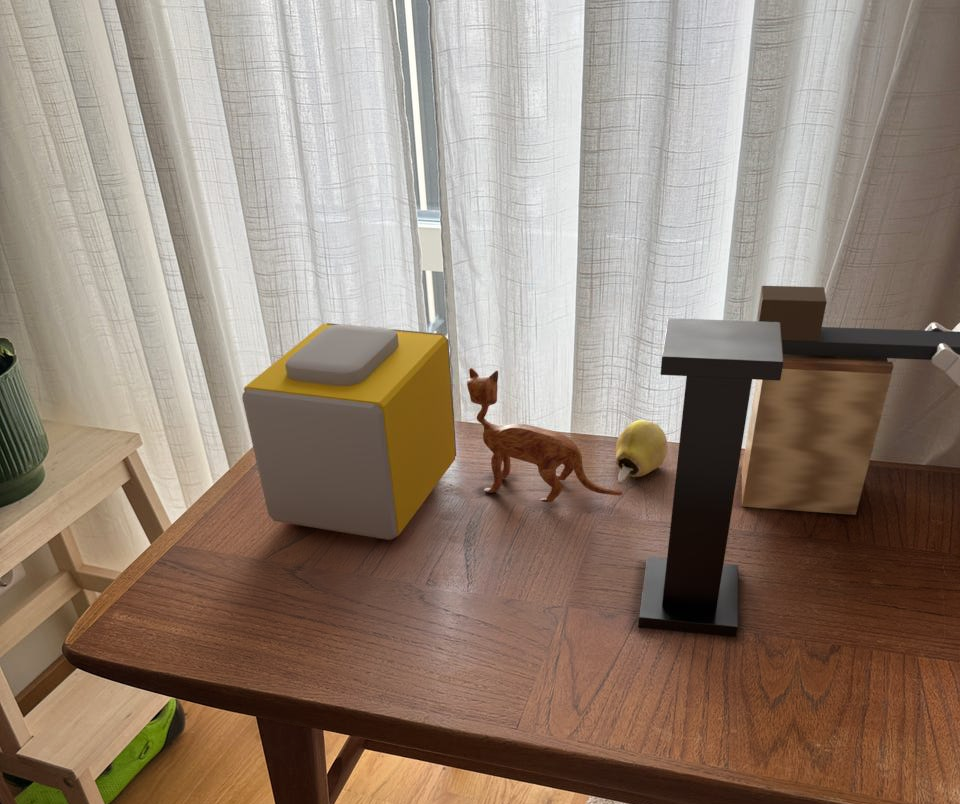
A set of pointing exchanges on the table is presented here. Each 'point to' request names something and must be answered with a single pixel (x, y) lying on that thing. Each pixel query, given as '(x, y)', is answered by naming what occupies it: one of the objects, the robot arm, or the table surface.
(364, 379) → the alarm clock
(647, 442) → the fruit
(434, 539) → the table surface
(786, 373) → the wavy wood-grain slab
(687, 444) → the shelf stand
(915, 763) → the table surface
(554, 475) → the cat figurine
